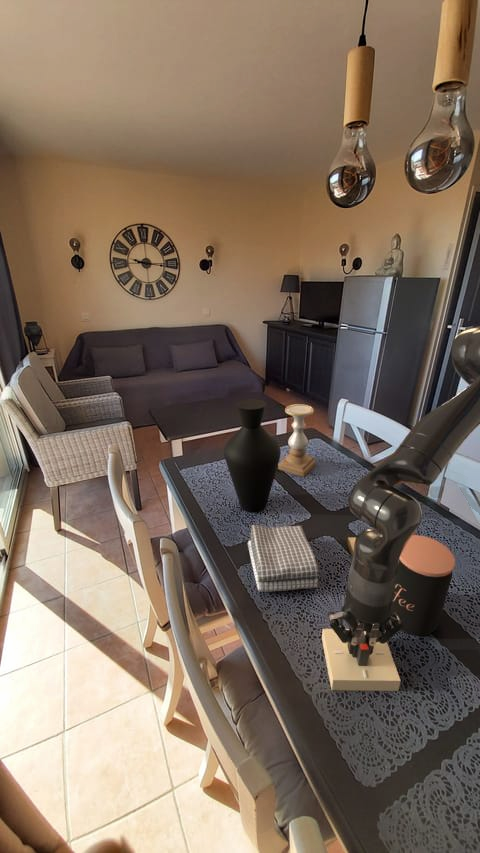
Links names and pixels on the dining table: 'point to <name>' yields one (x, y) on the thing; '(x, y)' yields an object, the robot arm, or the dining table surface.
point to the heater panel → (359, 678)
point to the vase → (252, 457)
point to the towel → (282, 559)
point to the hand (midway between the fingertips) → (359, 652)
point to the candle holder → (298, 443)
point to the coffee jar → (422, 584)
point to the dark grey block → (362, 651)
